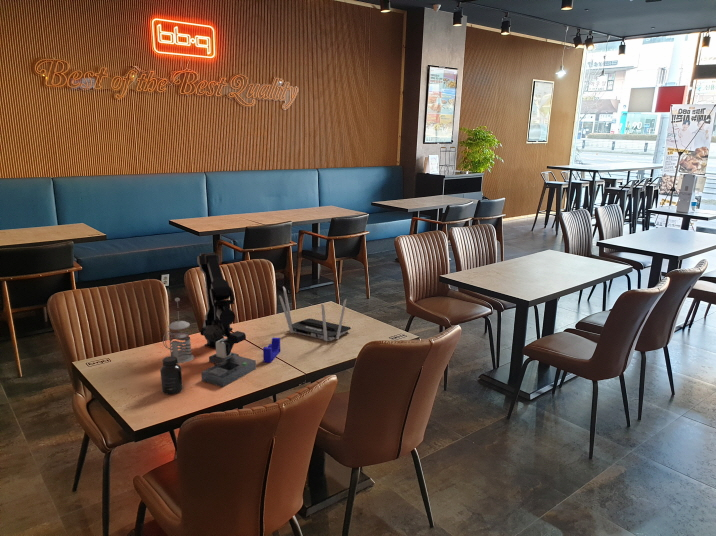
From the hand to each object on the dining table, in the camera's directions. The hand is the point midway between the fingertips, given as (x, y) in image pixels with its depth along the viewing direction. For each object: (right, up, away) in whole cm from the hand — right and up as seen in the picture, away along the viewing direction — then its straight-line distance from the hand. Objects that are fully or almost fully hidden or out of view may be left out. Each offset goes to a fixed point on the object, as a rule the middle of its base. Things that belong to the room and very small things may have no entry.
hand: (223, 354), depth 218 cm
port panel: (+5, -6, -12) cm, 14 cm away
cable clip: (+18, -2, +5) cm, 18 cm away
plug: (0, -2, +1) cm, 2 cm away
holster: (0, -2, +1) cm, 2 cm away
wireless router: (+34, +4, +30) cm, 45 cm away
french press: (-18, -2, +1) cm, 18 cm away
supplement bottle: (-12, -9, -25) cm, 29 cm away
